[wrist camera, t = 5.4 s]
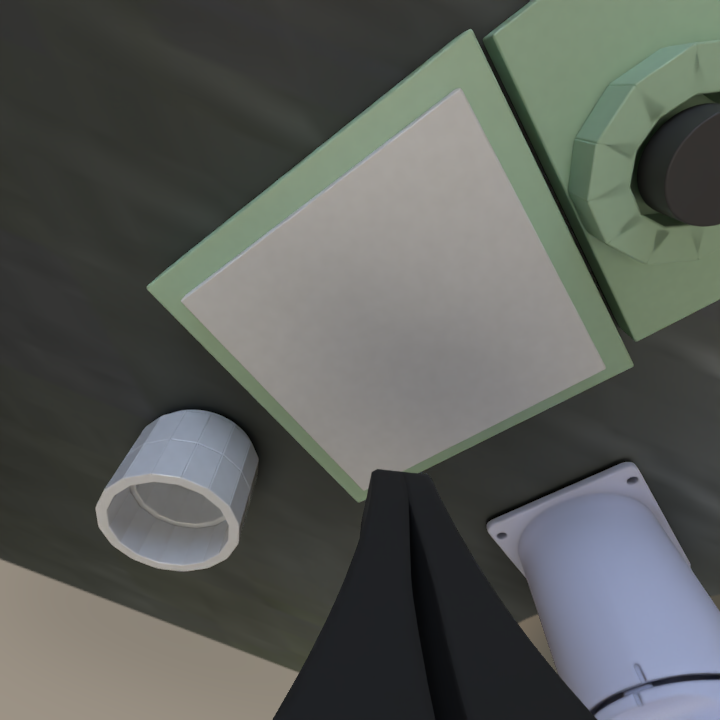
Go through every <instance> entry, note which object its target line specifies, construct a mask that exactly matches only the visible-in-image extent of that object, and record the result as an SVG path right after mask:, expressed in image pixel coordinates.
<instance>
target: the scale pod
mask: <svg viewBox="0 0 720 720" xmlns="http://www.w3.org/2000/svg"><path fill="white" fill-rule="evenodd" d="M483 43H484V45H485V47H486V49H487V51H488V54H489V56H490V58H491V60H492V62H493V64H494V66H495V68H496V70H497V72H498V74H499V77H500V79H501V81H502V83H503V85H504V87H505V89H506V91H507V93H508V95H509V97H510V100H511V102H512V104H513V106H514V108H515V110H516V112H517V114H518V116H519V118H520V120H521V123H522V125H523V127H524V129H525V131H526V133H527V135H528V137H529V139H530V141H531V143H532V146H533V148H534V150H535V152H536V154H537V156H538V158H539V160H540V162H541V164H542V166H543V169H544V171H545V173H546V175H547V177H548V179H549V181H550V183H551V185H552V187H553V189H554V192H555V194H556V196H557V198H558V200H559V202H560V204H561V206H562V208H563V210H564V212H565V215H566V217H567V219H568V221H569V223H570V225H571V227H572V229H573V231H574V233H575V235H576V238H577V240H578V242H579V244H580V246H581V248H582V250H583V252H584V254H585V256H586V258H587V261H588V263H589V265H590V267H591V269H592V271H593V273H594V275H595V277H596V279H597V281H598V284H599V286H600V288H601V290H602V292H603V294H604V296H605V298H606V300H607V302H608V304H609V307H610V309H611V311H612V313H613V315H614V317H615V319H616V321H617V323H618V325H619V327H620V328H621V329H622V330H623V331H624V332H625V333H626V334H628V335H629V336H630V337H631V338H632V339H633V340H634V341H636V342H637V341H639V340H641V339H643V338H645V337H647V336H649V335H651V334H653V333H655V332H657V331H659V330H661V329H663V328H665V327H667V326H669V325H670V324H672V323H674V322H676V321H678V320H680V319H682V318H684V317H686V316H688V315H690V314H692V313H694V312H696V311H698V310H700V309H702V308H704V307H706V306H708V305H710V304H712V303H714V302H715V301H717V300H719V299H720V224H719V225H714V226H708V227H699V226H692V225H689V224H686V223H683V222H681V221H679V220H676V219H674V218H671V217H669V216H666V215H664V214H662V213H659V212H657V211H655V210H653V209H652V208H650V207H649V206H648V205H647V204H646V203H645V202H644V200H643V199H642V197H641V195H640V193H639V190H638V185H637V169H638V164H639V160H640V157H641V155H642V152H643V150H644V148H645V146H646V144H647V143H648V141H649V140H650V138H651V137H652V136H653V134H654V133H655V132H656V131H657V130H658V129H659V128H660V126H661V125H663V124H664V123H665V122H666V121H667V120H668V119H670V118H671V117H673V116H674V115H675V114H677V113H679V112H681V111H682V110H685V109H687V108H689V107H692V106H695V105H700V104H706V103H718V104H720V0H531V1H530V2H529V3H527V4H526V5H525V6H524V7H522V8H521V9H520V10H518V11H517V12H516V13H515V14H513V15H512V16H511V17H510V18H508V19H507V20H506V21H504V22H503V23H502V24H501V25H499V26H498V27H497V28H495V29H494V30H493V31H492V32H490V33H489V34H488V35H487V36H485V37H484V38H483Z"/></svg>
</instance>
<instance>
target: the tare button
mask: <svg viewBox="0 0 720 720" xmlns="http://www.w3.org/2000/svg"><path fill="white" fill-rule="evenodd" d="M637 185H638V190H639V193H640V195H641V197H642V199H643V200H644V202H645V203H646V204H647V205H648V206H649V207H650V208H652V209H653V210H655V211H657V212H659V213H662V214H664V215H666V216H669V217H671V218H674V219H676V220H679V221H681V222H683V223H686V224H689V225H692V226H699V227H708V226H714V225H719V224H720V104H718V103H706V104H700V105H695V106H692V107H689V108H687V109H685V110H682V111H681V112H679V113H677V114H675V115H674V116H673V117H671V118H670V119H668V120H667V121H666V122H665V123H664V124H663V125H661V126H660V128H659V129H658V130H657V131H656V132H655V133H654V134H653V136H652V137H651V138H650V140H649V141H648V143H647V144H646V146H645V148H644V150H643V152H642V155H641V157H640V160H639V164H638V169H637Z"/></svg>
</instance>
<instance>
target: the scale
mask: <svg viewBox="0 0 720 720" xmlns="http://www.w3.org/2000/svg"><path fill="white" fill-rule="evenodd" d="M147 290H148V291H149V292H150V293H151V294H152V295H153V296H154V297H155V298H156V299H157V300H158V301H159V302H160V303H161V304H162V305H163V306H164V307H165V308H166V309H167V310H168V311H169V312H170V313H171V314H172V315H173V316H174V317H175V318H176V319H177V320H178V321H179V322H180V323H181V324H182V325H183V326H184V327H185V328H186V329H187V330H188V331H189V332H190V333H191V334H192V335H193V336H194V337H195V338H196V339H197V340H198V341H199V342H200V343H201V344H202V345H203V346H204V347H205V348H206V350H207V351H208V352H209V353H210V354H211V355H212V356H213V357H214V358H215V359H216V360H217V361H218V362H219V363H220V364H221V365H222V366H223V367H224V368H225V369H226V370H227V371H228V372H229V373H230V374H231V375H232V376H233V377H234V378H235V379H236V380H237V381H238V382H239V383H240V384H241V385H242V386H243V387H244V388H245V389H246V390H247V391H248V392H249V393H250V394H251V395H252V396H253V397H254V398H255V399H256V400H257V401H258V402H259V403H260V404H261V405H262V406H263V407H264V408H265V409H266V410H267V411H268V412H269V413H270V414H271V415H272V416H273V417H274V418H275V419H276V420H277V421H278V422H279V423H280V424H281V425H282V426H283V427H284V428H285V429H286V430H287V431H288V432H289V433H290V434H291V435H292V436H293V437H294V438H295V440H296V441H297V442H298V443H299V444H300V445H301V446H302V447H303V448H304V449H305V450H306V451H307V452H308V453H309V454H310V455H311V456H312V457H313V458H314V459H315V460H316V461H317V462H318V463H319V464H320V465H321V466H322V467H323V468H324V469H325V470H326V471H327V472H328V473H329V474H330V475H331V476H332V477H333V478H334V479H335V480H336V481H337V482H338V483H339V484H340V485H341V486H342V487H343V488H344V489H345V490H346V491H347V492H348V493H349V494H350V495H351V496H352V497H353V498H354V499H355V500H356V501H357V502H358V503H359V502H361V501H363V500H365V499H366V498H367V493H368V488H369V483H370V478H371V473H372V472H373V471H374V470H376V469H382V470H391V471H400V472H409V473H420V472H422V471H424V470H426V469H428V468H430V467H432V466H434V465H436V464H438V463H440V462H442V461H444V460H446V459H448V458H450V457H452V456H454V455H456V454H458V453H460V452H462V451H464V450H466V449H468V448H470V447H472V446H474V445H476V444H478V443H480V442H482V441H484V440H486V439H488V438H490V437H492V436H494V435H496V434H498V433H500V432H502V431H504V430H506V429H508V428H510V427H512V426H514V425H516V424H518V423H520V422H522V421H525V420H527V419H529V418H531V417H533V416H535V415H537V414H539V413H541V412H543V411H545V410H547V409H549V408H551V407H553V406H555V405H557V404H559V403H561V402H563V401H565V400H567V399H569V398H571V397H573V396H575V395H577V394H579V393H581V392H583V391H585V390H587V389H589V388H591V387H593V386H595V385H597V384H599V383H601V382H603V381H605V380H607V379H609V378H611V377H613V376H615V375H617V374H619V373H621V372H623V371H625V370H627V369H629V368H631V367H633V366H634V365H633V362H632V360H631V358H630V356H629V354H628V352H627V350H626V348H625V345H624V343H623V341H622V339H621V337H620V335H619V333H618V331H617V329H616V327H615V325H614V323H613V321H612V319H611V316H610V314H609V312H608V310H607V308H606V306H605V304H604V302H603V300H602V298H601V296H600V294H599V292H598V290H597V287H596V285H595V283H594V281H593V279H592V277H591V275H590V273H589V271H588V269H587V267H586V265H585V263H584V261H583V258H582V256H581V254H580V252H579V250H578V248H577V246H576V244H575V242H574V240H573V238H572V236H571V234H570V232H569V229H568V227H567V225H566V223H565V221H564V219H563V217H562V215H561V213H560V211H559V209H558V207H557V205H556V202H555V200H554V198H553V196H552V194H551V192H550V190H549V188H548V186H547V184H546V182H545V180H544V178H543V176H542V173H541V171H540V169H539V167H538V165H537V163H536V161H535V159H534V157H533V155H532V153H531V151H530V149H529V147H528V144H527V142H526V140H525V138H524V136H523V134H522V132H521V130H520V128H519V126H518V124H517V122H516V120H515V118H514V115H513V113H512V111H511V109H510V107H509V105H508V103H507V101H506V99H505V97H504V95H503V93H502V91H501V89H500V86H499V84H498V82H497V80H496V78H495V76H494V74H493V72H492V70H491V68H490V66H489V64H488V62H487V59H486V57H485V55H484V53H483V51H482V49H481V47H480V45H479V43H478V41H477V39H476V37H475V35H474V33H473V31H472V30H471V29H469V30H467V31H465V32H464V33H462V34H460V35H459V36H457V37H456V38H454V39H453V40H452V41H451V42H449V43H448V44H447V45H446V46H444V47H443V48H442V49H441V50H439V51H438V52H437V53H436V54H434V55H433V56H432V57H431V58H429V59H428V60H427V61H426V62H424V63H423V64H422V65H421V66H419V67H418V68H417V69H416V70H414V71H413V72H412V73H411V74H409V75H408V76H407V77H406V78H404V79H403V80H402V81H401V82H399V83H398V84H397V85H396V86H394V87H393V88H392V89H391V90H389V91H388V92H387V93H386V94H384V95H383V96H382V97H381V98H379V99H378V100H377V101H376V102H374V103H373V104H372V105H371V106H369V107H368V108H367V109H366V110H364V111H363V112H362V113H361V114H359V115H358V116H357V117H356V118H354V119H353V120H352V121H351V122H349V123H348V124H347V125H346V126H344V127H343V128H342V129H341V130H339V131H338V132H337V133H336V134H334V135H333V136H332V137H331V138H329V139H328V140H327V141H326V142H324V143H323V144H322V145H321V146H319V147H318V148H317V149H316V150H314V151H313V152H312V153H311V154H309V155H308V156H307V157H306V158H304V159H303V160H302V161H301V162H299V163H298V164H297V165H296V166H294V167H293V168H292V169H291V170H289V171H288V172H287V173H286V174H284V175H283V176H282V177H281V178H279V179H278V180H277V181H276V182H274V183H273V184H272V185H271V186H269V187H268V188H267V189H266V190H264V191H263V192H262V193H261V194H259V195H258V196H257V197H256V198H254V199H253V200H252V201H251V202H249V203H248V204H247V205H246V206H244V207H243V208H242V209H241V210H239V211H238V212H237V213H236V214H234V215H233V216H232V217H231V218H229V219H228V220H227V221H226V222H224V223H223V224H222V225H221V226H219V227H218V228H217V229H216V230H214V231H213V232H212V233H211V234H209V235H208V236H207V237H206V238H204V239H203V240H202V241H201V242H199V243H198V244H197V245H196V246H194V247H193V248H192V249H191V250H189V251H188V252H187V253H186V254H184V255H183V256H182V257H181V258H179V259H178V260H177V261H176V262H174V263H173V264H172V265H171V266H169V267H168V268H167V269H166V270H165V271H164V272H162V273H161V274H160V275H159V276H158V277H157V278H156V279H155V280H153V281H152V282H151V283H150V284H149V285H148V286H147Z"/></svg>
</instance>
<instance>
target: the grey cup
mask: <svg viewBox="0 0 720 720" xmlns="http://www.w3.org/2000/svg"><path fill="white" fill-rule="evenodd" d="M258 465H259V458H258V456H257V453H256V451H255V449H254V447H253V444H252V442H251V440H250V439H249V437H248V436H247V434H246V433H245V432H244V431H243V430H242V429H241V428H240V427H239V426H238V425H237V424H235V423H234V422H232V421H231V420H229V419H227V418H225V417H223V416H221V415H219V414H216V413H213V412H209V411H204V410H181V411H177V412H173V413H170V414H165V415H163V416H161V417H159V418H158V419H156V420H155V421H153V422H152V423H150V424H149V425H147V426H146V427H145V428H144V430H143V431H142V433H141V434H140V436H139V437H138V439H137V440H136V442H135V443H134V445H133V446H132V448H131V449H130V451H129V452H128V454H127V456H126V457H125V458H124V460H123V462H122V463H121V465H120V466H119V468H118V469H117V471H116V472H115V474H114V475H113V477H112V478H111V480H110V481H109V483H108V484H107V486H106V487H105V489H104V490H103V492H102V495H101V497H100V499H99V501H98V503H97V505H96V515H97V521H98V526H99V528H100V530H101V531H102V532H103V534H104V535H105V536H106V538H107V539H108V540H109V542H110V543H111V544H112V545H113V546H114V547H115V548H117V549H118V550H120V551H121V552H123V553H124V554H126V555H127V556H128V557H130V558H131V559H133V560H136V561H138V562H141V563H144V564H147V565H149V566H152V567H155V568H159V569H166V570H174V571H192V570H199V569H206V568H210V567H212V566H214V565H216V564H217V563H219V562H221V561H223V560H225V559H227V558H228V557H229V556H230V554H231V553H232V552H233V550H234V549H235V548H236V546H237V545H238V543H239V540H240V536H241V533H242V529H243V526H244V522H245V519H246V515H247V512H248V508H249V504H250V501H251V497H252V494H253V490H254V487H255V483H256V480H257V476H258Z"/></svg>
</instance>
